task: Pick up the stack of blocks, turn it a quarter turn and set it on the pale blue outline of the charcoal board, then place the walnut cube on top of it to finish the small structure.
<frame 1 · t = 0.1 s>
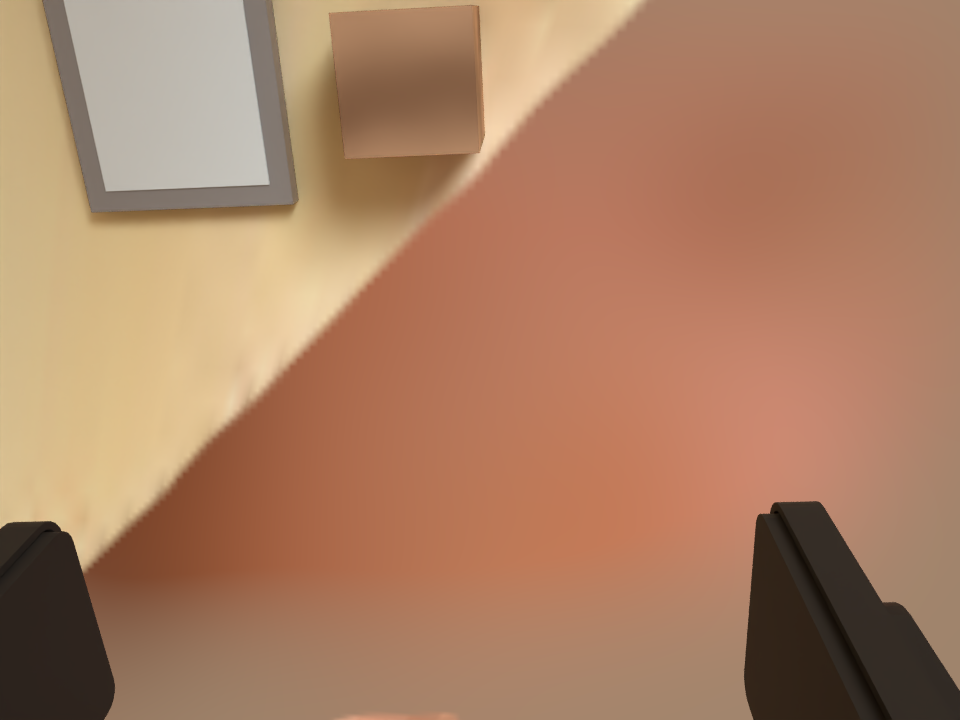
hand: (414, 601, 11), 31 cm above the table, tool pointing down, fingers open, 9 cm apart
walnut cube: (421, 75, 38), on the table
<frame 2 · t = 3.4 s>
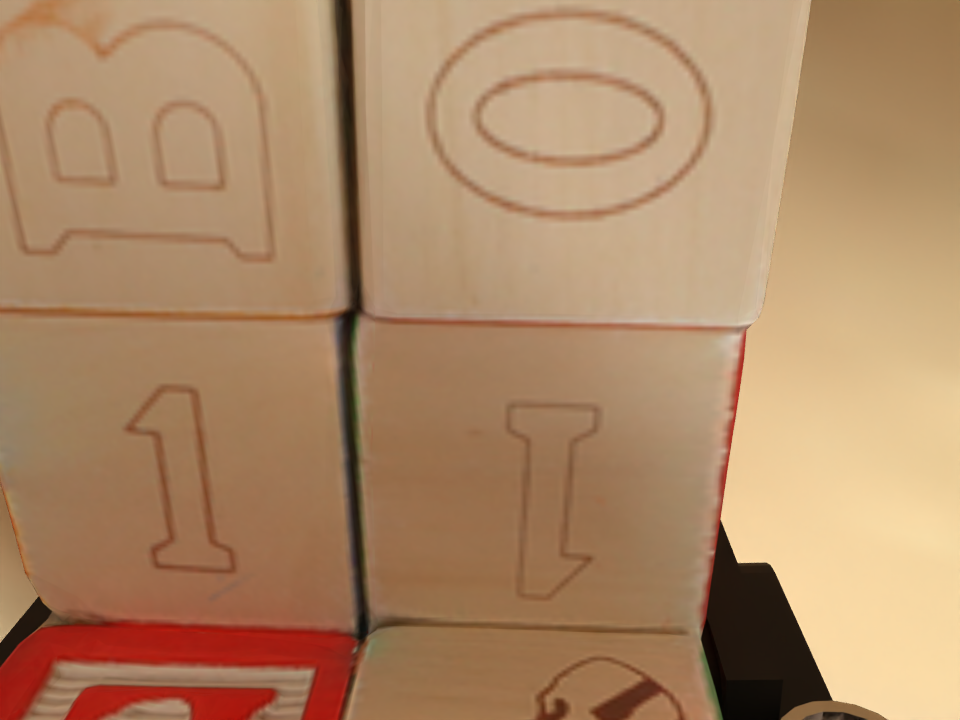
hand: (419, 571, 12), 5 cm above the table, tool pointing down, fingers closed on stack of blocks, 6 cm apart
stack of blocks: (452, 372, 17), on the table, touching gripper
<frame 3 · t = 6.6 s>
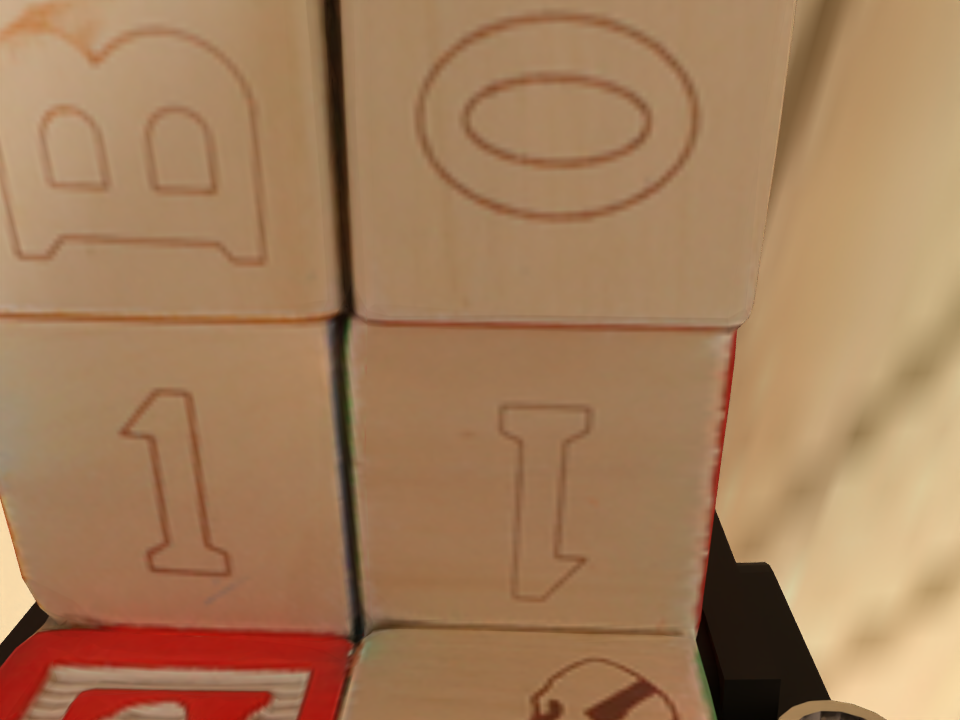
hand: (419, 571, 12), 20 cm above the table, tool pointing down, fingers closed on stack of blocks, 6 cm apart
stack of blocks: (451, 377, 17), point 15 cm above the table, touching gripper
when the fingers open (8 cm above the table, at t = 9.6 s): stack of blocks drops 1 cm, resting on blueprint board.
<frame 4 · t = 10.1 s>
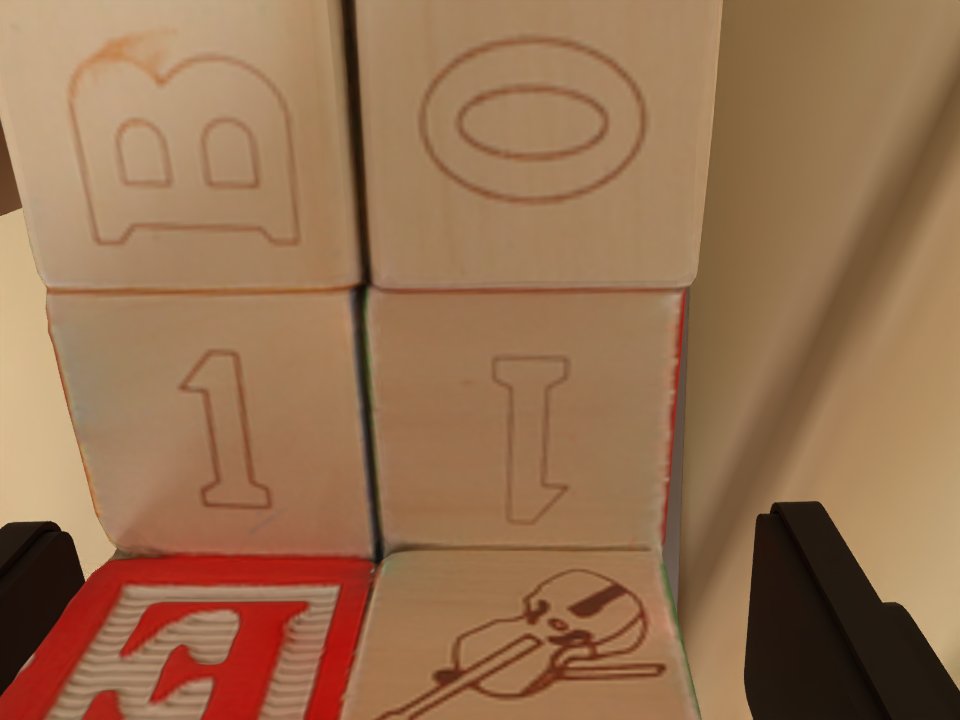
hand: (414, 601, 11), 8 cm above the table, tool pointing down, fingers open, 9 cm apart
stack of blocks: (454, 356, 18), point 1 cm above the table, touching blueprint board
blueprint board: (458, 360, 19), on the table
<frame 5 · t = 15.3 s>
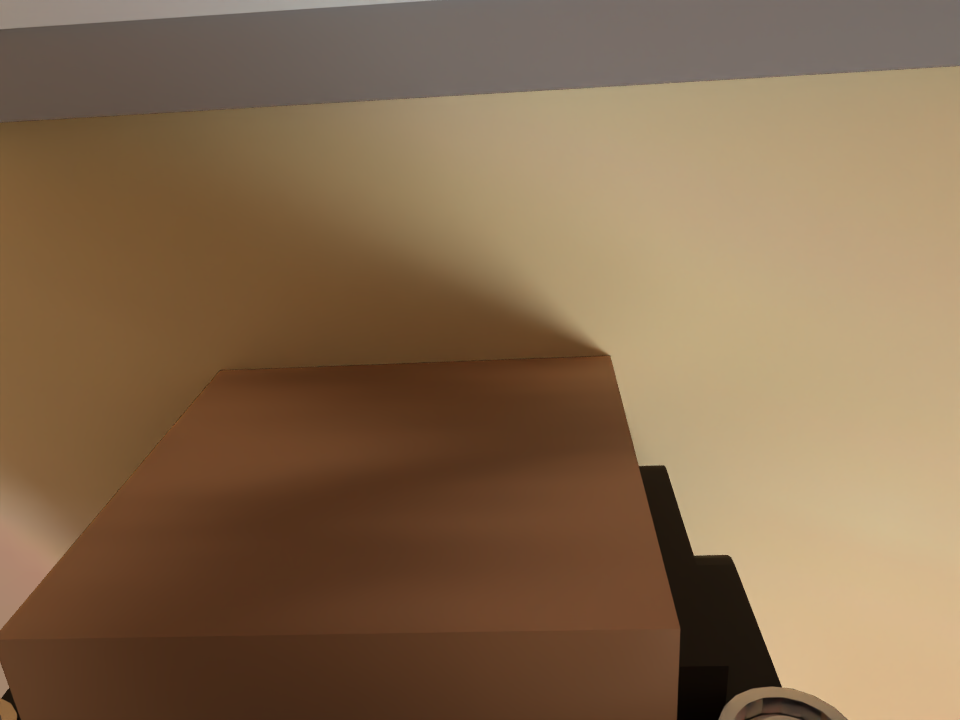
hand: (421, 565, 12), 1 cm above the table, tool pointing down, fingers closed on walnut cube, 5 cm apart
walnut cube: (428, 529, 13), on the table, touching gripper
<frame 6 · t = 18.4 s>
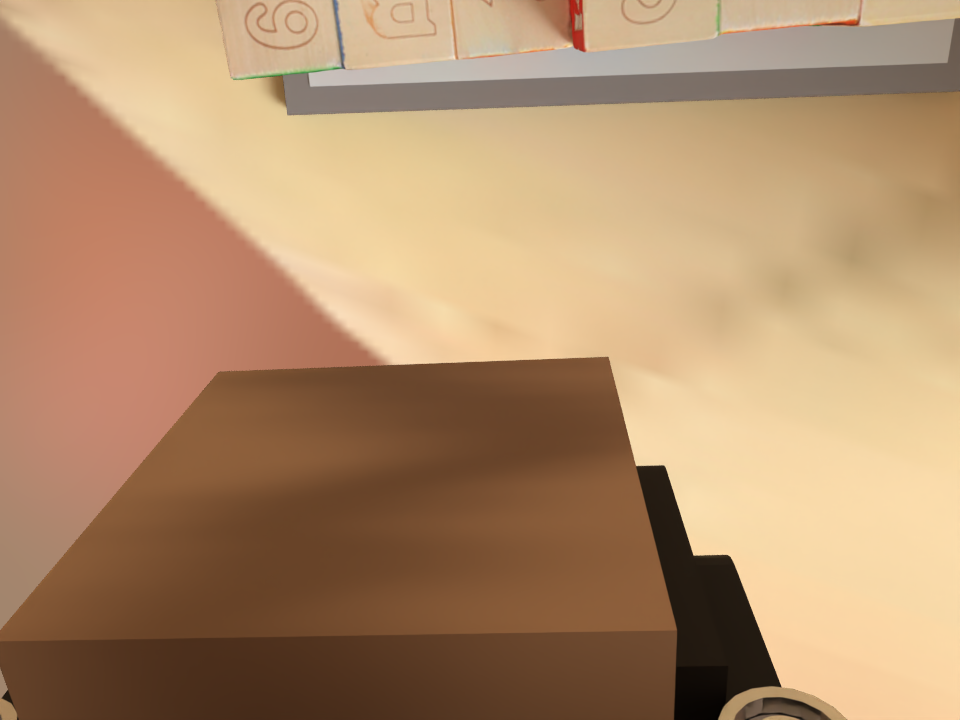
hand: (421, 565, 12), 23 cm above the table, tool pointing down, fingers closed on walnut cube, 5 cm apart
walnut cube: (427, 530, 13), point 22 cm above the table, touching gripper
when the fingers open (15 cm above the table, at t = 21.3 s): walnut cube drops 1 cm, resting on stack of blocks.
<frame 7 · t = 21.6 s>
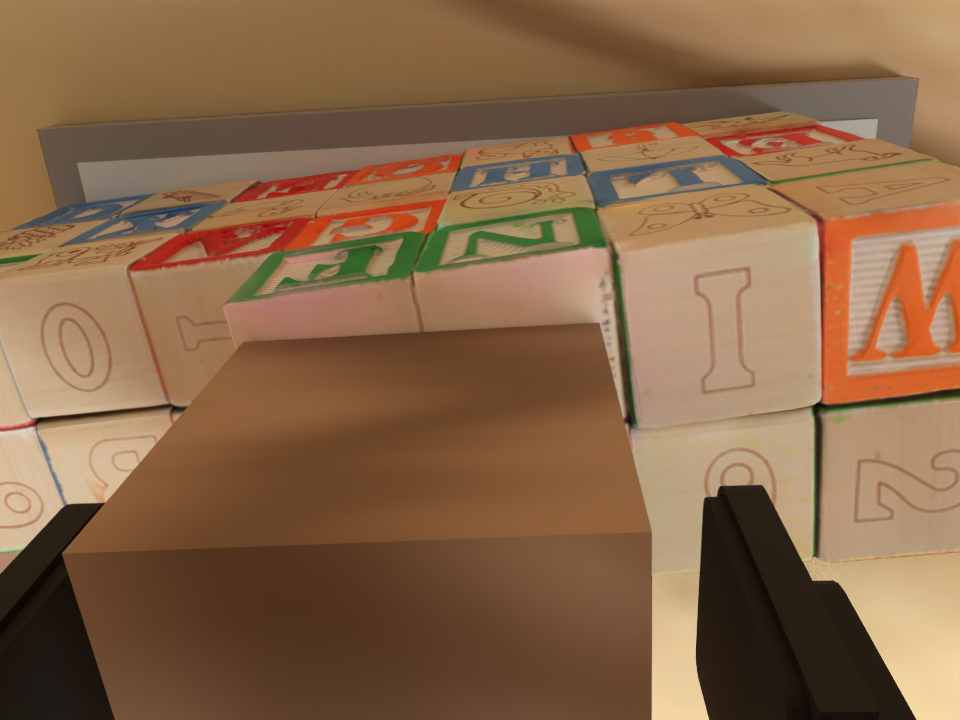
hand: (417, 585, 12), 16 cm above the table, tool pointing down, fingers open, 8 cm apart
stack of blocks: (431, 257, 25), point 1 cm above the table, touching blueprint board, walnut cube
blueprint board: (475, 265, 26), on the table
walnut cube: (435, 487, 14), point 13 cm above the table, touching stack of blocks
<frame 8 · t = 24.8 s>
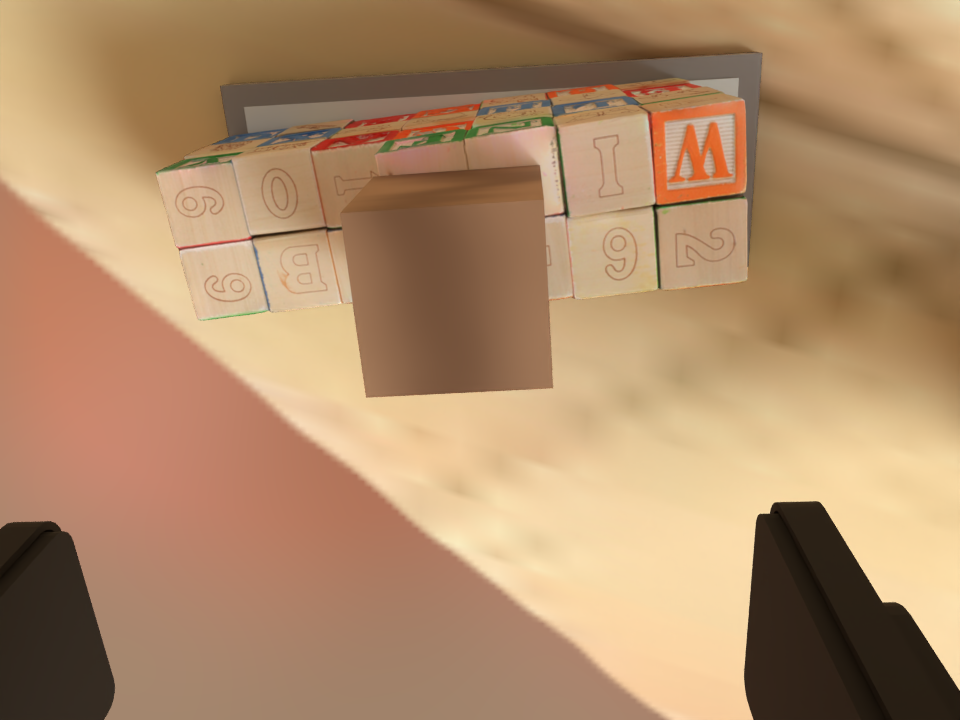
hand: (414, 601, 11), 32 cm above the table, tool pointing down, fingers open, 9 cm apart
stack of blocks: (459, 170, 40), point 1 cm above the table, touching blueprint board, walnut cube
blueprint board: (492, 175, 41), on the table
walnut cube: (463, 252, 29), point 13 cm above the table, touching stack of blocks
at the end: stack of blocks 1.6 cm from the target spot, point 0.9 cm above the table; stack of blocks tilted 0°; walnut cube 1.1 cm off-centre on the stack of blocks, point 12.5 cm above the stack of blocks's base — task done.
